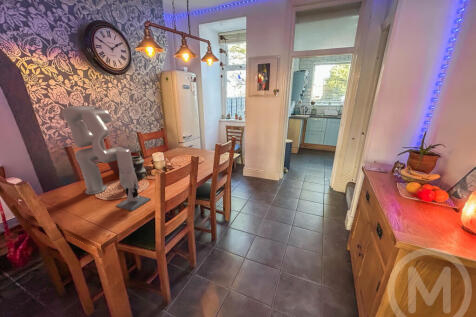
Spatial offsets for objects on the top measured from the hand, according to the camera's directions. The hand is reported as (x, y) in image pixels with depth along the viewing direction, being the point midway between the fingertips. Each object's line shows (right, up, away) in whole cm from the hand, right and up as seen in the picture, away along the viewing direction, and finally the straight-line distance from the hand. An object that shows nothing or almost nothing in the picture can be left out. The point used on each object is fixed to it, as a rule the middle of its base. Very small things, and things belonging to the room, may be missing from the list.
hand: (132, 195), depth 114 cm
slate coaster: (0, -5, +2) cm, 5 cm away
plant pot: (-34, +10, +48) cm, 59 cm away
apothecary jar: (-17, +7, +39) cm, 43 cm away
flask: (0, -3, +1) cm, 3 cm away
